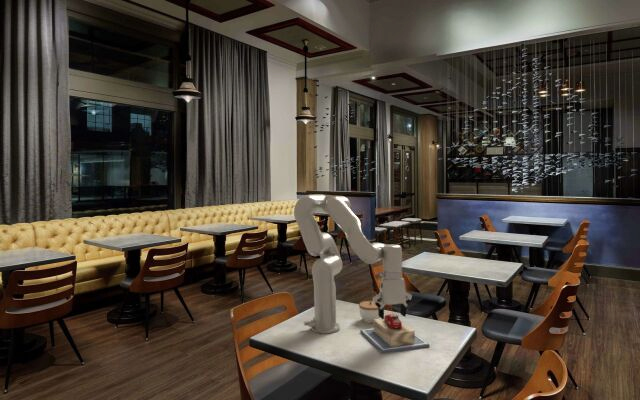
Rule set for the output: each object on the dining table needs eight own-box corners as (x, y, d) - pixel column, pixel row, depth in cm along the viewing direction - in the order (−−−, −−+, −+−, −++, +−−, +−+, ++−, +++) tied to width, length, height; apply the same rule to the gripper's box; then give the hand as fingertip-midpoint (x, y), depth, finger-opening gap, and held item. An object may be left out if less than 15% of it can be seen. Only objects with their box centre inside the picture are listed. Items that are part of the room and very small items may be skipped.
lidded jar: (357, 324, 175) (357, 303, 175) (360, 316, 186) (360, 297, 185) (381, 325, 173) (381, 305, 173) (383, 317, 183) (383, 298, 183)
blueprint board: (382, 353, 144) (382, 337, 144) (360, 332, 165) (360, 318, 165) (429, 346, 149) (429, 331, 149) (402, 327, 170) (402, 313, 170)
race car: (383, 319, 164) (383, 310, 164) (396, 319, 164) (396, 309, 164) (389, 330, 151) (389, 320, 151) (402, 330, 151) (402, 320, 151)
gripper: (376, 278, 150) (376, 322, 151) (416, 275, 155) (416, 317, 156) (369, 274, 158) (369, 315, 158) (407, 271, 162) (406, 311, 163)
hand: (392, 316), depth 157 cm, fingers open, 9 cm apart
